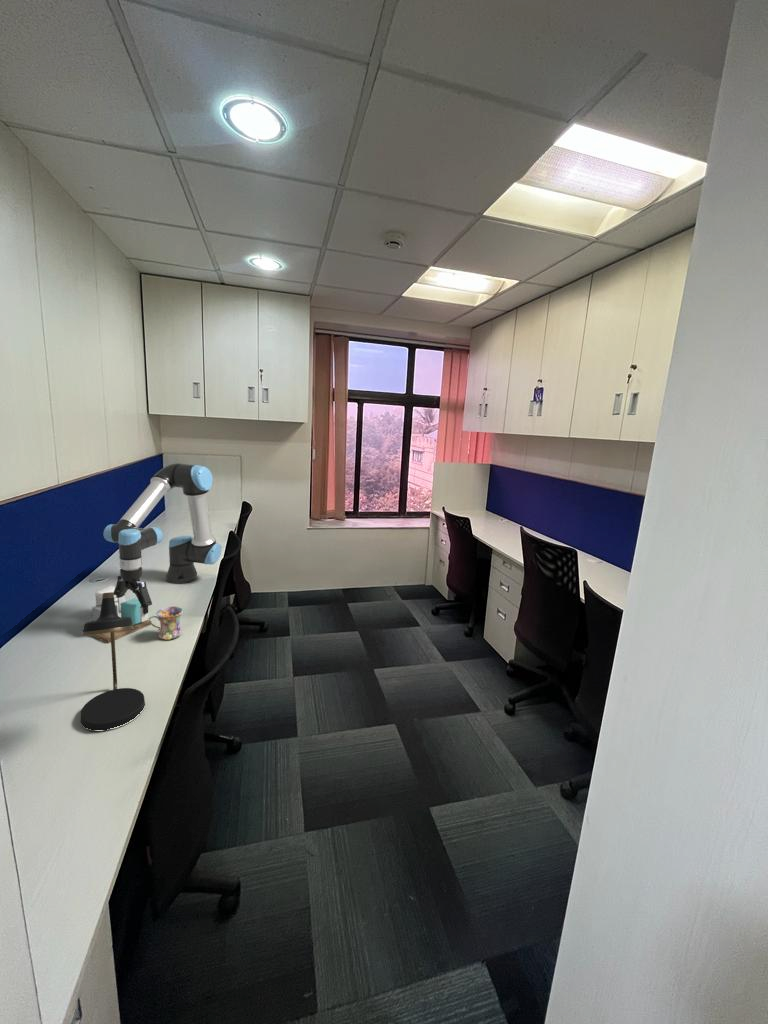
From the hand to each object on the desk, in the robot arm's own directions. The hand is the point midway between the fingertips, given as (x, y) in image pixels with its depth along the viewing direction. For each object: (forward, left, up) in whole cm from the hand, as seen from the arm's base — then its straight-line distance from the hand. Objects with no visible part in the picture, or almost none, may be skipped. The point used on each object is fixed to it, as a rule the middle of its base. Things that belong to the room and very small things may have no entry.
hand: (133, 616), depth 169 cm
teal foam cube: (0, 0, -2) cm, 2 cm away
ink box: (-1, -17, -5) cm, 18 cm away
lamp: (+34, +40, -5) cm, 53 cm away
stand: (+4, -2, -5) cm, 6 cm away
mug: (-2, +17, -5) cm, 18 cm away
